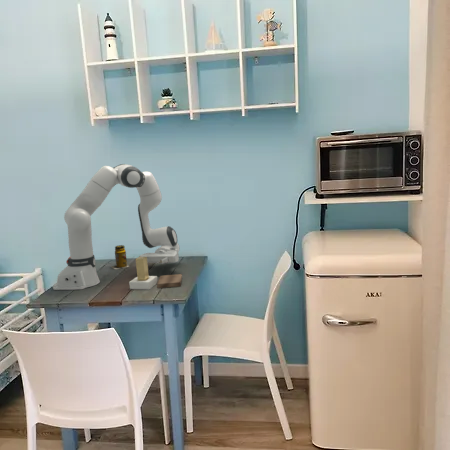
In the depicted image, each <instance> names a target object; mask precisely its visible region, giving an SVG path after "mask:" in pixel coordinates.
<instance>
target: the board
mask: <svg viewBox="0 0 450 450" xmlns="http://www.w3.org/2000/svg"><path fill="white" fill-rule="evenodd" d="M157 281H158V283H157V284H156V288H157V289H163V288H174V287H175V288H177V287H181V286H182V282H183V274H182V273H180V274H179V273H178V274H177V273H176V274H166V275H159V277H158V279H157Z"/></svg>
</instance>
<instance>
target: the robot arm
mask: <svg viewBox="0 0 450 450" xmlns="http://www.w3.org/2000/svg"><path fill="white" fill-rule="evenodd" d="M117 185H121V186H123V187H126V188H131V189H133V188H136V190H137V192H138V195H139V198H140V203H139V204H138V206H137V212H138V214H137V215H138V219H139V223H140V230H141V237H142V238H141V239H142V243H143V245H144V246H145V247H147V248H149V249H152V248H156V249H155V251H154V252H144V253H142V254H139V256H138V257H147V263H159V264H161V265H162V264H163V265H165V264H166V263H167V264H168V263H176V262H179V260H180V259H179V257H180V255H179V252H180V245H179V243H178V235H177V233H176V232H177V231H176V230H175V229H174V228H173V227H171V226H168V225H167V226H162V227H158V228H152V227H151V224H150V219H149V213H151V212H152V210H155V209H156V208H157V207H158V206H159V205H160V204H161V202H162V198H163V197H162V193H161V189H160V186H159V184H158V182H157V179H156V178H155V176H154V174H153V173H152V172H151V171H141V170H140V169H139V168H137V167H136V166H133V165H131V164H125V163H122V164H118V165H116V166H114V167H112V166H109V165H103V166H102V167H101V168H99V169H98V170H97V171H96V172H95V174H94V175H93V176H92V177H91V178H90V180H89V181H88V183H87V184H86V185H85V187H84V189H83V190H82V191H81V192H80V194H79V195H78V196H77V197H76V198H75V199H74V201H73V202H72V203H71V204H70V206H68V208H67V210H66V211H65V213H64V215H63V218H64V221H65V223H66V225H67V233H68V234H67V235H68V238H67V239H68V250H69V257H68V258H67V260H66V264H67V265H66V267H64V268H63V270H61V271H60V272H59V273H58V275H57V278H56V283H54V284H53V286H52V289H53V291H55V290H56V291H58V290H59V291H62V290H65V291H66V290H68V291H69V290H75V291H76V290H84V289H86V288H89V287H94V286H96V285H98V284H99V283H101V281H100V278H99V275H98V272H97V269H96V263H97V262H96V258H95V255H94V248H93V241H92V240H93V238H92V231H93V230H92V218H91V216H92V215H93V214H94V213H95V212H96V211H97V209H99V207H101V205H102V204H103V203H104V202H105V200H106V199H107V197H108V195H110V193H111V191H112V189H113V188H114V187H116V186H117ZM157 247H158V248H157Z"/></svg>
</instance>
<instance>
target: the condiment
mask: <svg viewBox="0 0 450 450" xmlns="http://www.w3.org/2000/svg"><path fill="white" fill-rule="evenodd" d="M114 250H115V251H114V257H115V265H112V266H111V268H112V269H114V270H119V269H124V268H128V267H129V268H130V265H128V260H127V251H126V248H125V245H123V244H121V245H115V246H114Z"/></svg>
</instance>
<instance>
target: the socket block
mask: <svg viewBox="0 0 450 450" xmlns="http://www.w3.org/2000/svg"><path fill="white" fill-rule="evenodd" d="M157 283H158V276H157V275H149V279H148V280H146V281H138V278H137V276H135V277H134V278H133V279H131V280H130V281H129V282H128V284H129V289H130V290H151V289H153V287H155V286H157Z"/></svg>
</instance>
